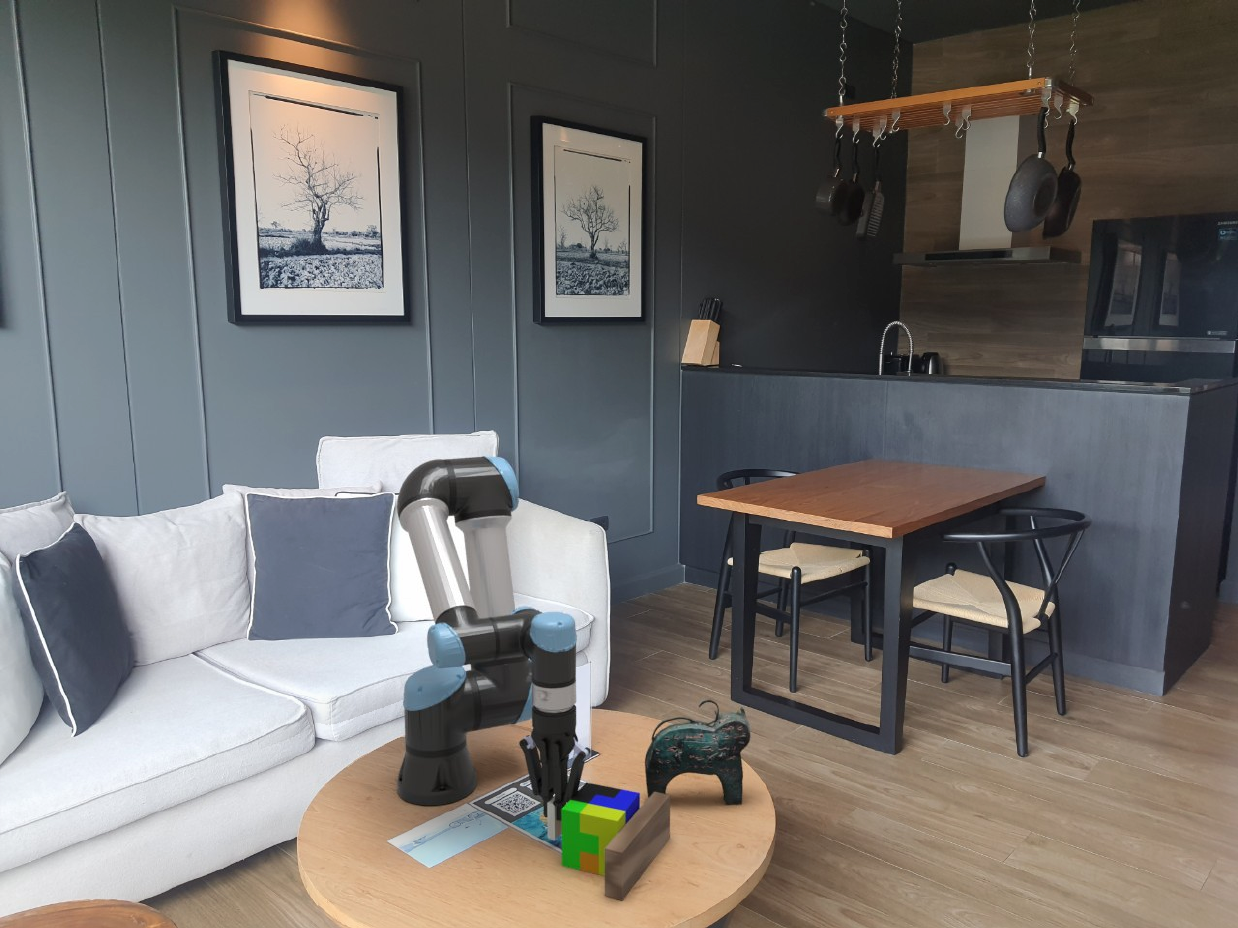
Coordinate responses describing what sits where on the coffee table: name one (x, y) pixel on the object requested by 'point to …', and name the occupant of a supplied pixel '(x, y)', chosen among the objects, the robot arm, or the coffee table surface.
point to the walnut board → (636, 845)
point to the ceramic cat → (700, 752)
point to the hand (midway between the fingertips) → (555, 835)
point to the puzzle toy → (594, 824)
